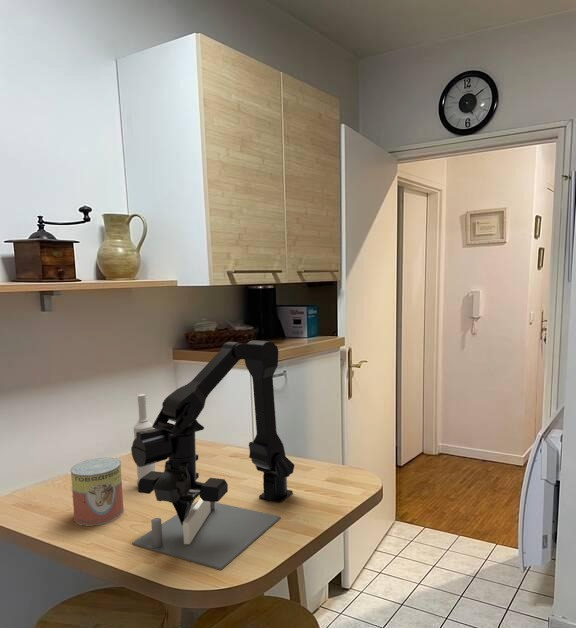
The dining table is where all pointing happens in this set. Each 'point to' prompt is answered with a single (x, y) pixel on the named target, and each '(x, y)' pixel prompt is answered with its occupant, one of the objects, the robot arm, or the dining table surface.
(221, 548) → the plate with peg
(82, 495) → the canned food
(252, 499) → the dining table surface
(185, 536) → the gate
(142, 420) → the bottle
